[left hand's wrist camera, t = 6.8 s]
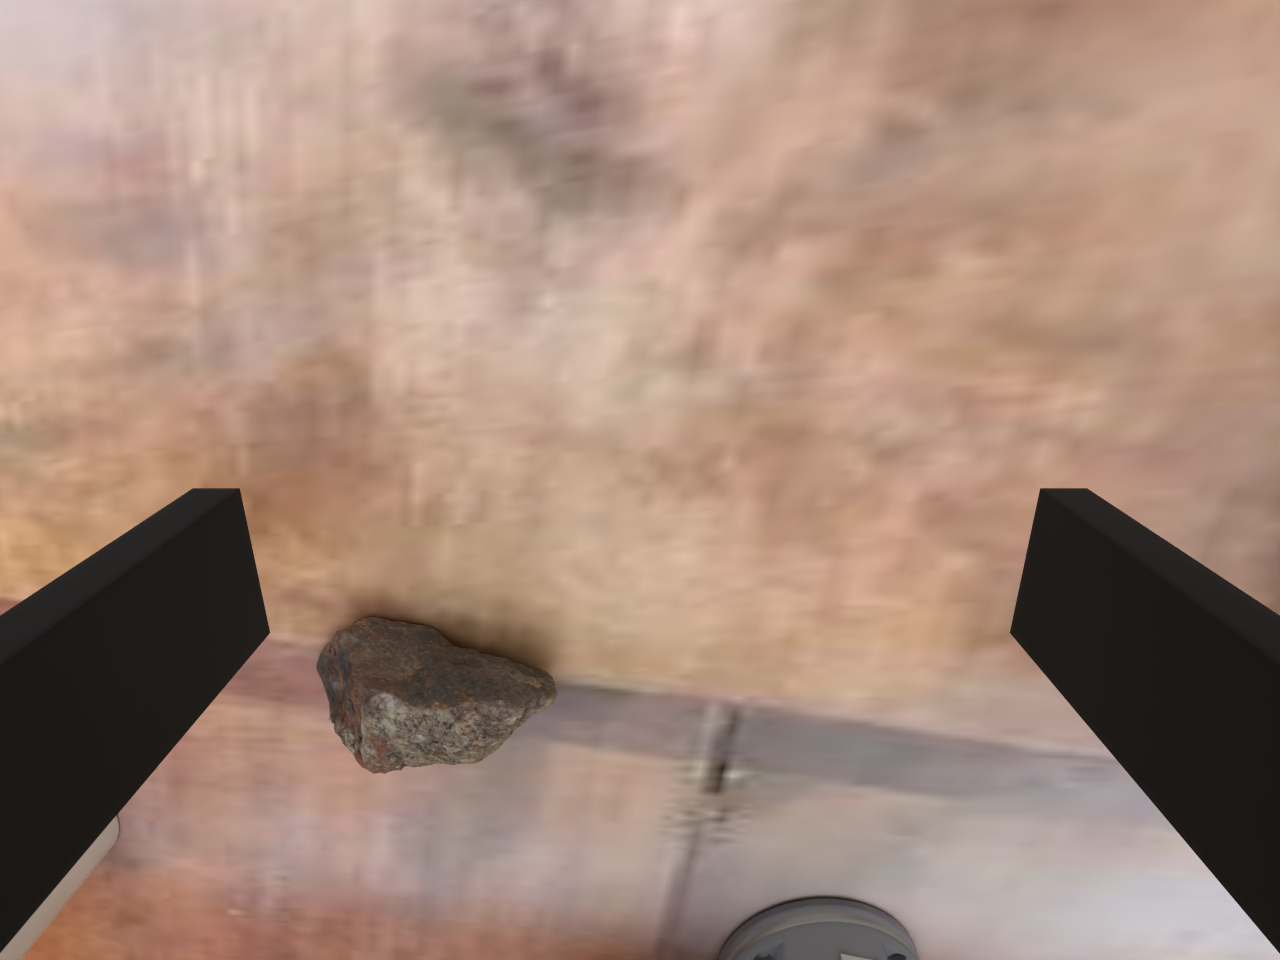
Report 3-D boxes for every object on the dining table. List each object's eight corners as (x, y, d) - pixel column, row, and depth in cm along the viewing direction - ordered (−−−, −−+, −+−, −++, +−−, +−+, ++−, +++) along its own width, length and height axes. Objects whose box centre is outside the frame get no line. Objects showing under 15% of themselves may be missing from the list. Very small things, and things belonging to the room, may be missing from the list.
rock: (347, 565, 45) (317, 694, 48) (269, 641, 37) (240, 790, 40) (574, 643, 45) (529, 765, 49) (547, 735, 37) (495, 874, 41)
